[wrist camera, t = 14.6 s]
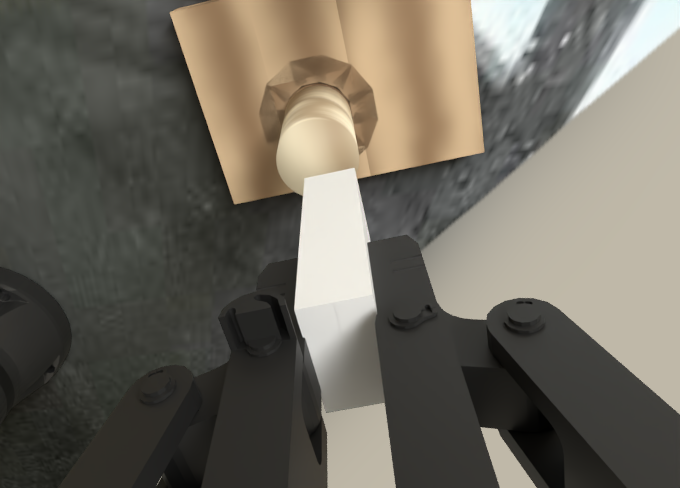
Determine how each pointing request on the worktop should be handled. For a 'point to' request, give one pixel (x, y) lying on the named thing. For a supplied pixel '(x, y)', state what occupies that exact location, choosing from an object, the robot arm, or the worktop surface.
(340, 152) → the peg
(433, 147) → the board
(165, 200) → the worktop surface
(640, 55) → the worktop surface
